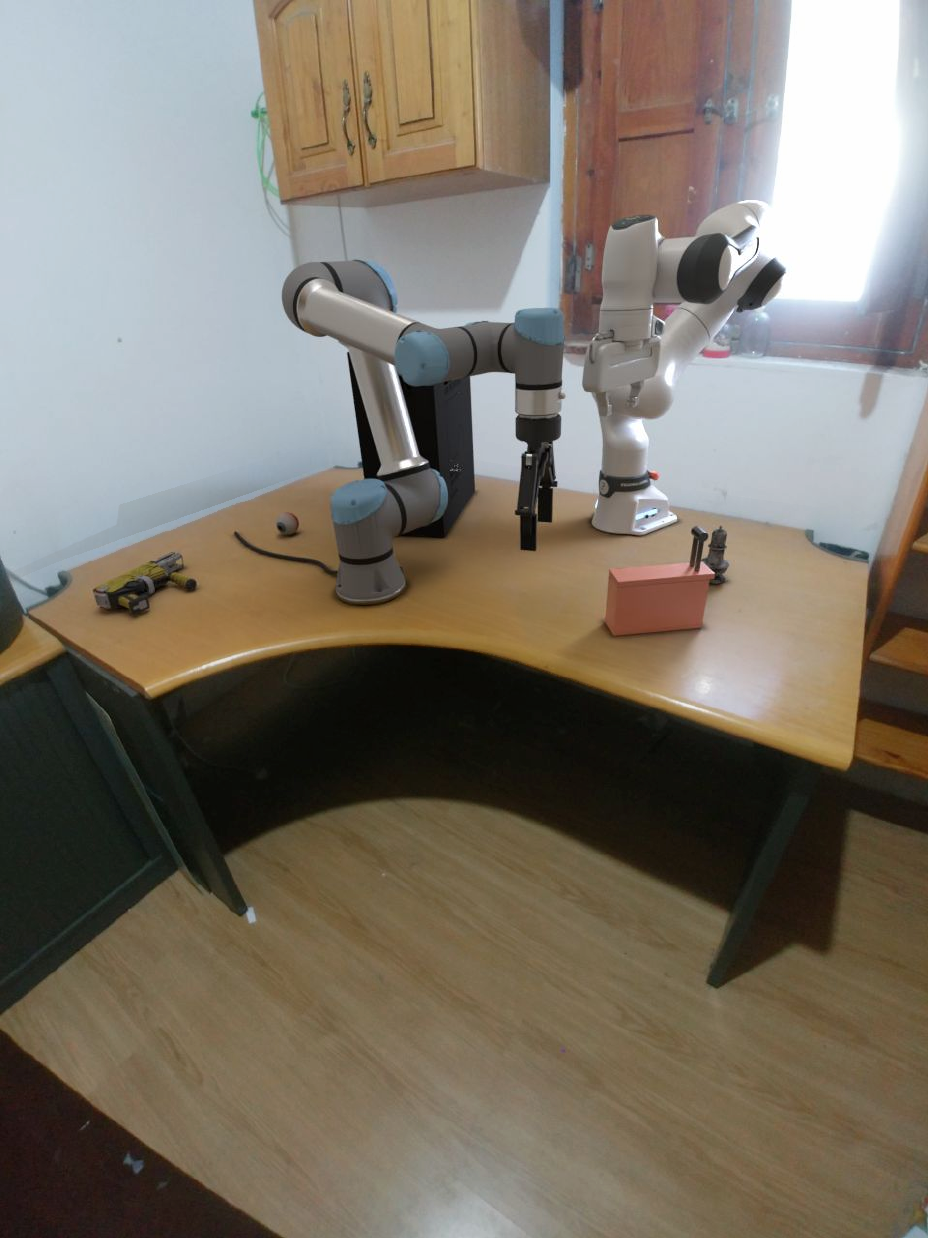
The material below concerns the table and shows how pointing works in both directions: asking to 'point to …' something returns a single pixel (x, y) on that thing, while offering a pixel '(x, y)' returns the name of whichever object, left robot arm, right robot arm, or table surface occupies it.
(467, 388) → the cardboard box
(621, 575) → the lid
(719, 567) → the salt shaker
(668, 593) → the chest
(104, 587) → the toy gun
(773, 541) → the table surface
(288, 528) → the eyeball
